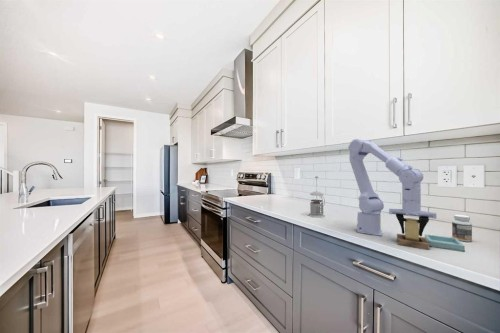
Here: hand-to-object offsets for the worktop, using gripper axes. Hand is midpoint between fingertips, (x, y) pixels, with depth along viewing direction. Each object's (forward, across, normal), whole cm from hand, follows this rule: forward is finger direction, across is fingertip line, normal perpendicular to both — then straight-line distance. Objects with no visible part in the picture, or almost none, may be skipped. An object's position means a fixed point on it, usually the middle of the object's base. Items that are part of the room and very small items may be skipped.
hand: (411, 234), depth 81 cm
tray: (+4, +10, +5) cm, 12 cm away
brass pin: (+3, 0, 0) cm, 3 cm away
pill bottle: (+4, +18, +17) cm, 25 cm away
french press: (+4, -44, +29) cm, 53 cm away
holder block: (+4, 0, 0) cm, 4 cm away
